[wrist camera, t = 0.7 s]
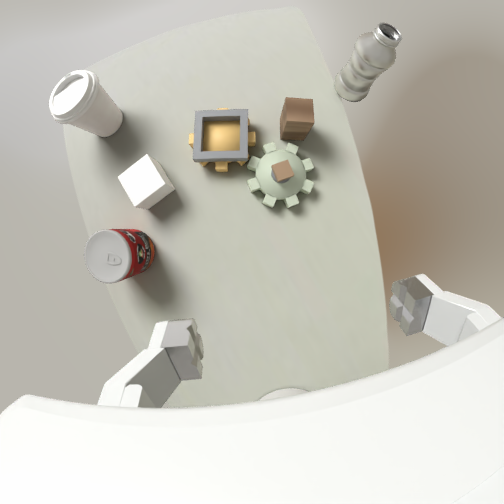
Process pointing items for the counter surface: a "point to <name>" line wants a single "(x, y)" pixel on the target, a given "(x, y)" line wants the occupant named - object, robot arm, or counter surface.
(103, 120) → the coffee cup
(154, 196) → the white cube
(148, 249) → the canned food
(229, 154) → the frame
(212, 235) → the counter surface
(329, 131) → the counter surface
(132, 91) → the counter surface
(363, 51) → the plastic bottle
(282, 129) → the peg
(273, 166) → the gear
